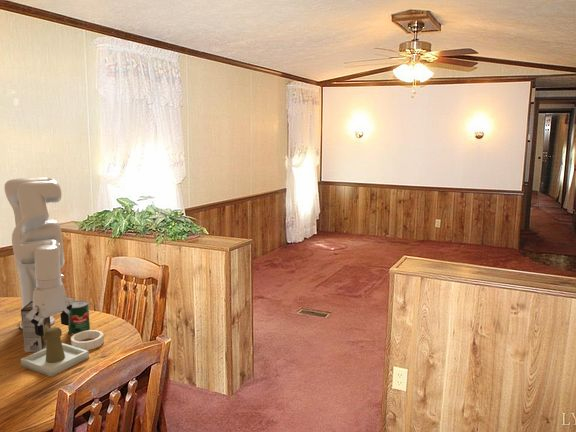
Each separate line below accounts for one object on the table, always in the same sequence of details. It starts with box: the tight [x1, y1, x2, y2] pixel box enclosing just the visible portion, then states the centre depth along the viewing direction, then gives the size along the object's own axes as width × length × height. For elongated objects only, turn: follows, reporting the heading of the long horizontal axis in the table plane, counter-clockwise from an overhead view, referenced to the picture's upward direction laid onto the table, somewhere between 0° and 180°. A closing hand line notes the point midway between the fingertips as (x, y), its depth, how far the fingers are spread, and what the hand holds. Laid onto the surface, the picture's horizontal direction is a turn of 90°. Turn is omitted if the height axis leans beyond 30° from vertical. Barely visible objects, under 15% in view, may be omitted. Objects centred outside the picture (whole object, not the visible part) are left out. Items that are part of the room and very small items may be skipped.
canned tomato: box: [67, 300, 91, 335], centre depth 190 cm, size 8×8×11 cm
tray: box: [20, 342, 90, 377], centre depth 165 cm, size 15×15×2 cm
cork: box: [45, 326, 65, 363], centre depth 164 cm, size 6×6×11 cm
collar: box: [70, 329, 105, 351], centre depth 179 cm, size 11×11×3 cm
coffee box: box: [20, 301, 52, 353], centre depth 175 cm, size 9×6×16 cm
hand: (52, 329), depth 164 cm, fingers open, 9 cm apart
